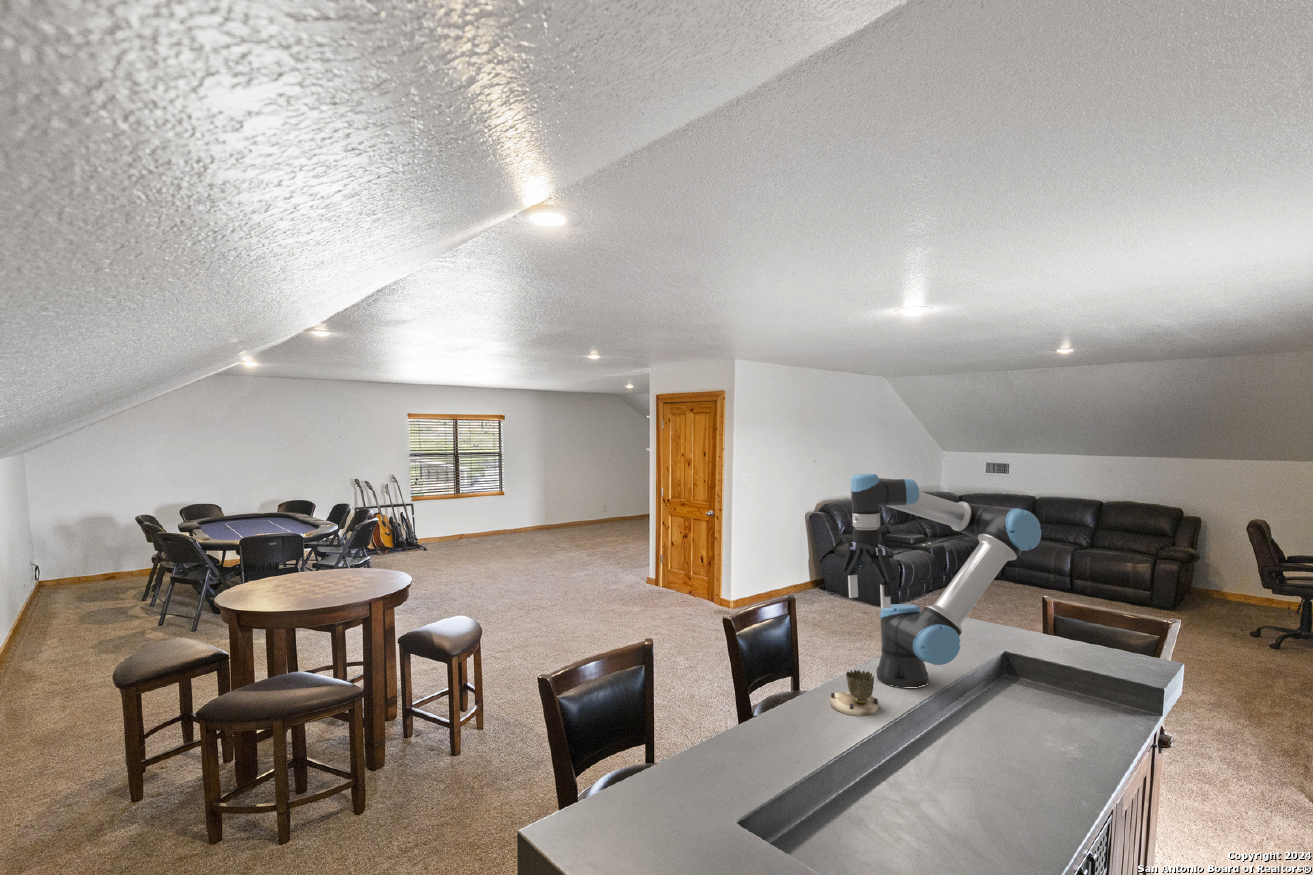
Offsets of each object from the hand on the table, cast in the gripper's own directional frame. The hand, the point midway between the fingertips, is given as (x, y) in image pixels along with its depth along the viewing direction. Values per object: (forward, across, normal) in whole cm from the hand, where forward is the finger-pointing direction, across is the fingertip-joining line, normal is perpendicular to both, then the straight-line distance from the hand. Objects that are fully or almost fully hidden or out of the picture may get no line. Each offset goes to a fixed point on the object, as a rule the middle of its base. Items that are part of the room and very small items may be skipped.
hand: (869, 602), depth 179 cm
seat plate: (+28, 0, -6) cm, 29 cm away
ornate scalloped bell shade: (+27, +2, -6) cm, 28 cm away
